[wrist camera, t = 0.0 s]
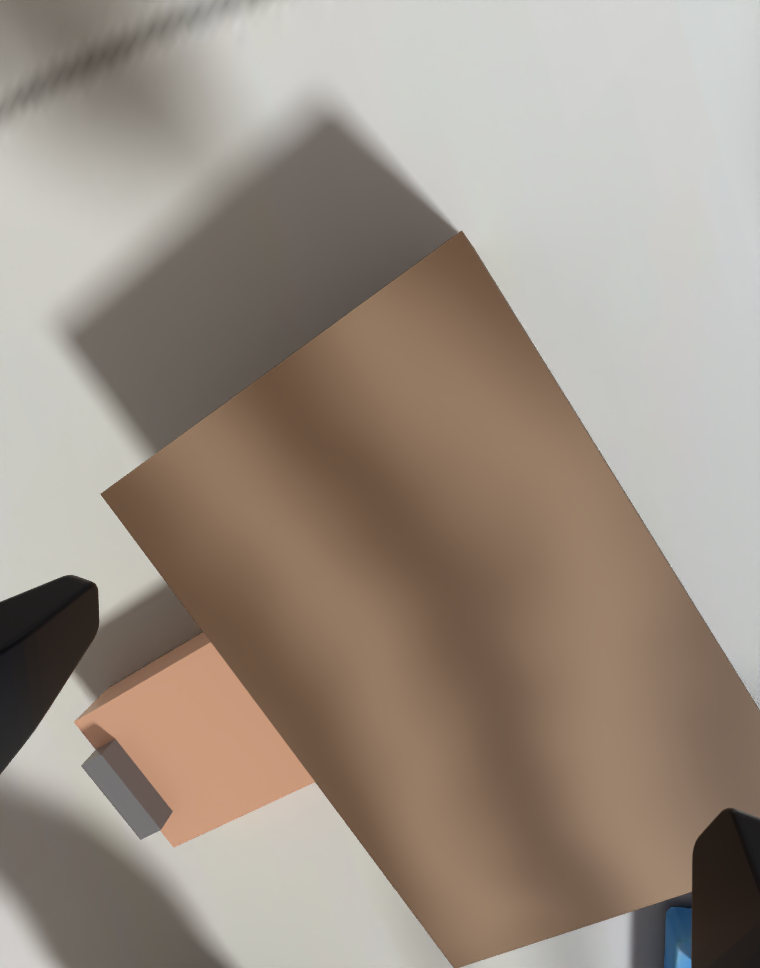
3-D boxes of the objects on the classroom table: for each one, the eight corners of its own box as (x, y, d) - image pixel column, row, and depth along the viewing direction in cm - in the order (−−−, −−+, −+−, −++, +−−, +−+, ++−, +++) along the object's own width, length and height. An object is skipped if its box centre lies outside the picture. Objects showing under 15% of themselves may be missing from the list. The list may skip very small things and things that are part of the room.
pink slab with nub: (199, 804, 30) (162, 866, 27) (108, 687, 30) (58, 737, 26) (411, 702, 27) (397, 759, 24) (314, 565, 26) (286, 605, 23)
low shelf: (465, 833, 28) (454, 969, 22) (190, 450, 26) (100, 494, 20) (762, 714, 24) (840, 843, 19) (473, 247, 22) (462, 230, 16)
